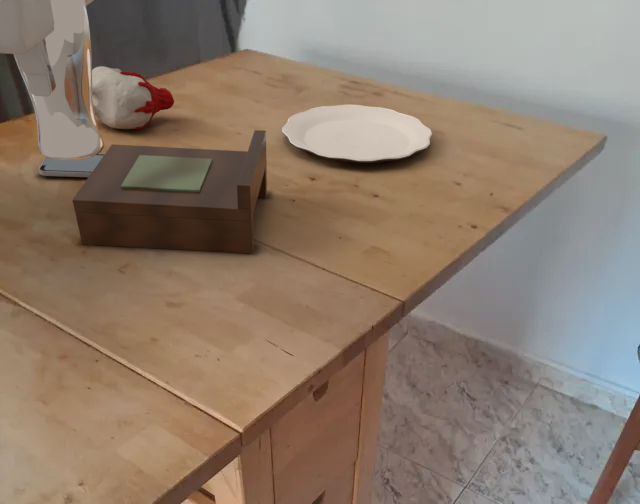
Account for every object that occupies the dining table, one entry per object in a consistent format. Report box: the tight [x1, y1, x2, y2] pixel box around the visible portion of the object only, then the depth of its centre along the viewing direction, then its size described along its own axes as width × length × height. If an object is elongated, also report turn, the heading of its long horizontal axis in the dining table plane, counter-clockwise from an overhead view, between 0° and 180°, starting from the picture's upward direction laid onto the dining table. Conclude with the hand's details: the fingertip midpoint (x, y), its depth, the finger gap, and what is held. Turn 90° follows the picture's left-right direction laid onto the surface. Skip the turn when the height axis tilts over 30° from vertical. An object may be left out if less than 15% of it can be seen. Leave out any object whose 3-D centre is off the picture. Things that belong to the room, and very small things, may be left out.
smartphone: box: [38, 153, 105, 178], centre depth 105 cm, size 7×1×15 cm
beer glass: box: [12, 0, 105, 160], centre depth 62 cm, size 7×7×15 cm
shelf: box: [72, 129, 268, 254], centre depth 91 cm, size 22×18×9 cm
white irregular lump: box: [92, 65, 175, 131], centre depth 116 cm, size 9×11×15 cm
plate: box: [281, 104, 433, 164], centre depth 116 cm, size 25×25×2 cm
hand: (58, 80), depth 63 cm, fingers closed on beer glass, 6 cm apart
